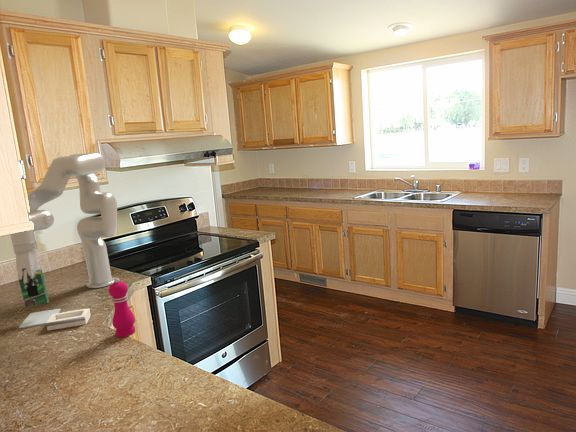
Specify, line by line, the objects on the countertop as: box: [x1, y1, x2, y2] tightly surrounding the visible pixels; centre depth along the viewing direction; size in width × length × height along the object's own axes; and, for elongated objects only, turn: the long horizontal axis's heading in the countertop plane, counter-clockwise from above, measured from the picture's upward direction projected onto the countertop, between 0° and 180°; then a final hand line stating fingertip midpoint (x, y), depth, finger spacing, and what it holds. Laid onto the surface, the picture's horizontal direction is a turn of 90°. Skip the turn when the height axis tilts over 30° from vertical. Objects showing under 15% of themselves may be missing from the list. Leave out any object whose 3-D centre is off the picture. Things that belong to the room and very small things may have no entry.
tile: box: [18, 308, 61, 330], centre depth 167 cm, size 13×11×1 cm
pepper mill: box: [108, 277, 136, 338], centre depth 146 cm, size 7×7×20 cm
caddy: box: [44, 308, 92, 332], centre depth 160 cm, size 9×13×3 cm
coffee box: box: [17, 268, 50, 308], centre depth 164 cm, size 8×3×13 cm, turn 105°
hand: (35, 293), depth 165 cm, fingers closed on coffee box, 3 cm apart
